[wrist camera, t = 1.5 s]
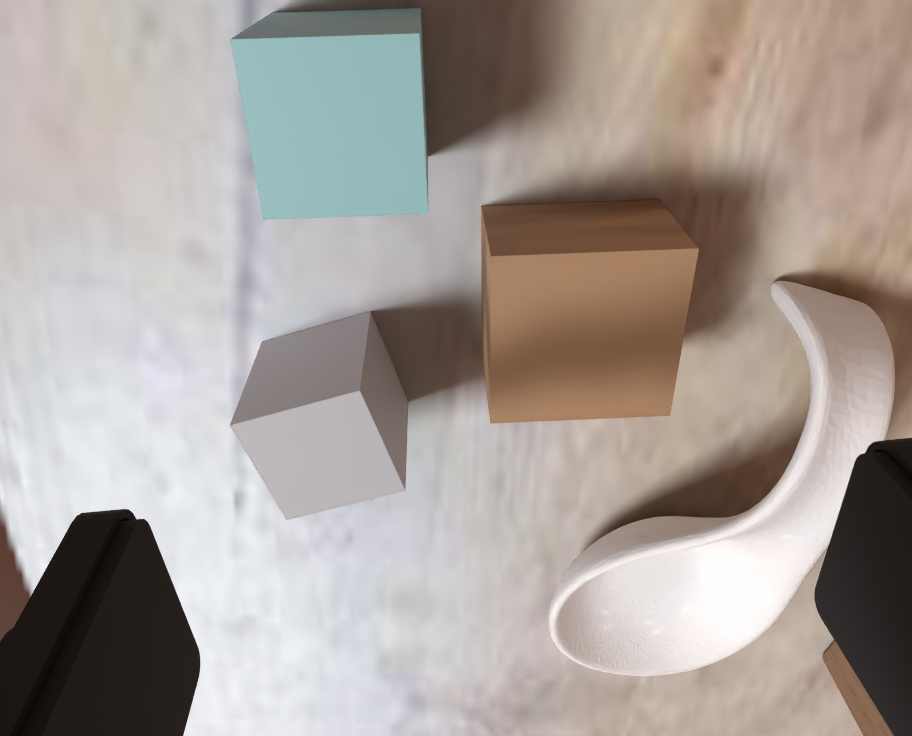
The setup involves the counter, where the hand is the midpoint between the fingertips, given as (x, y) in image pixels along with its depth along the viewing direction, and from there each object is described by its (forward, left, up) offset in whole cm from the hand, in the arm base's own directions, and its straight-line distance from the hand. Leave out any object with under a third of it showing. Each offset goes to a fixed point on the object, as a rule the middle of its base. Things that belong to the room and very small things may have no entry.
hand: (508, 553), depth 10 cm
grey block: (+10, -6, -20) cm, 23 cm away
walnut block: (+6, +4, -20) cm, 21 cm away
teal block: (-2, -4, -20) cm, 20 cm away
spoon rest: (+18, +12, -20) cm, 29 cm away
